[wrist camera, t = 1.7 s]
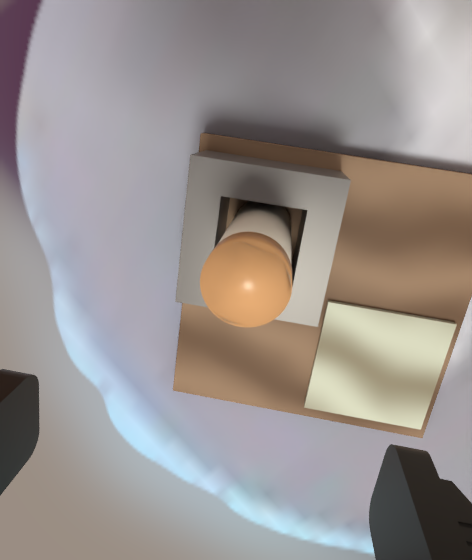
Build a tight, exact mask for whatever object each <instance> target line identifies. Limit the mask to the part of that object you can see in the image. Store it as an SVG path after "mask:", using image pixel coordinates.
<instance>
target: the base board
mask: <svg viewBox="0 0 472 560" xmlns="http://www.w3.org/2000/svg"><path fill="white" fill-rule="evenodd" d="M205 150H209V151H215V152H222V153H228V154H235V155H241V156H247V157H254V158H260V159H267V160H273V161H280V162H286V163H292V164H299V165H305V166H312V167H318V168H325V169H331V170H337V171H342V172H343V173H344V174H345V175H346V176H347V177H348V178H349V179H350V180H351V182H350V187H349V191H348V196H347V200H346V204H345V209H344V213H343V218H342V222H341V227H340V231H339V236H338V240H337V244H336V249H335V253H334V258H333V262H332V267H331V271H330V275H329V280H328V284H327V289H326V293H325V298H324V302H323V306H322V311H321V315H320V320H319V324H318V327H315V326H309V325H303V324H298V323H292V322H287V321H281V320H275V319H274V320H272V321H271V322H269V323H267V324H264V325H261V326H257V327H238V326H234V325H231V324H228V323H226V322H224V321H222V320H221V319H220V318H218V317H217V316H216V315H215V314H213V313H212V311H211V310H210V309H209V308H208V307H203V306H197V305H191V304H186V303H182V312H181V321H180V330H179V339H178V349H177V358H176V367H175V376H174V386H173V390H174V391H179V392H184V393H189V394H194V395H200V396H205V397H210V398H215V399H221V400H226V401H231V402H236V403H241V404H247V405H252V406H257V407H262V408H267V409H273V410H278V411H283V412H288V413H294V414H299V415H304V416H309V417H314V418H320V419H325V420H330V421H335V422H341V423H346V424H351V425H356V426H361V427H367V428H372V429H377V430H382V431H387V432H393V433H398V434H403V435H408V436H414V437H419V438H423V435H424V432H425V429H426V426H427V423H428V420H429V417H430V414H431V412H432V409H433V406H434V403H435V400H436V397H437V394H438V391H439V389H440V386H441V383H442V380H443V377H444V374H445V371H446V368H447V366H448V363H449V360H450V357H451V354H452V351H453V348H454V345H455V342H456V340H457V337H458V334H459V331H460V328H461V325H462V322H463V319H464V317H465V314H466V311H467V308H468V305H469V302H470V299H471V296H472V174H470V173H463V172H457V171H450V170H444V169H437V168H431V167H424V166H418V165H411V164H405V163H398V162H392V161H385V160H378V159H372V158H365V157H359V156H352V155H346V154H339V153H333V152H326V151H320V150H313V149H307V148H300V147H294V146H287V145H281V144H274V143H267V142H261V141H254V140H248V139H241V138H235V137H228V136H222V135H215V134H209V133H201V136H200V145H199V152H202V151H205ZM247 202H248V200H242V199H236V198H230V203H229V210H228V217H227V225H226V230H227V228H228V227H229V225H230V223H231V222H232V220H233V219H234V217H235V215H236V214H237V212H238V211H239V209H240V208H241V207H242V206H243V205H244V204H245V203H247ZM283 207H284V208H285V209H286V210H287V212H288V214H289V216H290V219H291V227H292V230H291V266H292V263H293V257H294V252H295V247H296V242H297V237H298V232H299V226H300V221H301V216H302V211H303V209H297V208H291V207H285V206H283Z"/></svg>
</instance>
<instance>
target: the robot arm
mask: <svg viewBox="0 0 472 560" xmlns="http://www.w3.org/2000/svg"><path fill="white" fill-rule="evenodd" d="M38 436H39V382H38V379H37V377H36V376H35V375H31V374H26V373H21V372H16V371H10V370H5V369H2V370H0V495H1V494H2V493H3V491H4V490H5V489H6V487H7V486H8V485H9V484H10V482H11V481H12V480H13V478H14V477H15V476H16V475H17V474H18V472H19V471H20V470H21V468H22V467H23V466H24V465H25V463H26V462H27V461H28V459H29V458H30V457H31V455H32V453H33V451H34V449H35V446H36V443H37V440H38ZM369 524H370V532H371V537H372V542H373V547H374V552H375V558H376V560H472V504H471V502H470V501H469V500H468V499H467V498H466V497H465V495H464V494H463V493H462V492H461V491H460V490H459V489H458V488H457V487H456V485H455V484H454V483H453V482H452V481H448V480H443V479H440V478H439V476H438V473H437V471H436V469H435V466H434V464H433V461H432V459H431V457H430V455H429V453H428V452H427V451H423V450H418V449H413V448H408V447H403V446H397V445H392V444H391V445H390V446H389V447H388V448H387V450H386V453H385V456H384V459H383V463H382V466H381V469H380V472H379V475H378V479H377V482H376V485H375V488H374V491H373V494H372V498H371V503H370V511H369Z"/></svg>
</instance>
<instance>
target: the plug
mask: <svg viewBox="0 0 472 560" xmlns="http://www.w3.org/2000/svg"><path fill="white" fill-rule="evenodd" d="M291 230H292V227H291V219H290V216H289V214H288V212H287V210H286V209H285V208H284V207H283V206H279V205H273V204H267V203H260V202H254V201H248V202H247V203H245V204H244V205H243V206H242V207H241V208H240V209H239V211H238V212H237V214H236V215H235V217H234V219H233V220H232V222H231V223H230V225H229V227H228V228H227V230H226V231H225V233H224V235H223V236H222V238H221V239H220V241H219V243H218V244H217V245H216V246H215V248H214V249H213V250H212V252H211V254H210V255H209V257H208V258H207V260H206V262H205V263H204V265H203V268H202V271H201V276H200V289H201V294H202V297H203V299H204V301H205V303H206V305H207V306H208V308H209V309H210V310H211V311H212V313H213V314H215V315H216V316H217V317H218V318H220V319H221V320H222V321H224V322H226V323H228V324H231V325H234V326H238V327H257V326H261V325H264V324H267V323H269V322H271V321H272V320H274V319H275V318H277V317H278V316H279V315H280V314H281V313H282V312H283V311H284V309H285V308H286V306H287V304H288V302H289V300H290V297H291V293H292V266H291Z"/></svg>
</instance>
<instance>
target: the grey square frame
mask: <svg viewBox="0 0 472 560" xmlns="http://www.w3.org/2000/svg"><path fill="white" fill-rule="evenodd" d="M350 182H351V180H350V179H349V178H348V177H347V176H346V175H345V174H344V173H343V172H342V171H337V170H331V169H325V168H318V167H312V166H305V165H299V164H292V163H286V162H280V161H273V160H267V159H260V158H254V157H247V156H241V155H235V154H228V153H222V152H215V151H209V150H205V151H202V152H199V153H195V154H192V155H190V164H189V174H188V184H187V194H186V203H185V213H184V223H183V233H182V242H181V252H180V262H179V272H178V282H177V291H176V301H175V302H180V303H186V304H191V305H197V306H203V307H208V306H207V305H206V303H205V301H204V299H203V297H202V294H201V289H200V276H201V271H202V268H203V265H204V263H205V262H206V260H207V258H208V257H209V255H210V254H211V252H212V250H213V249H214V248H215V246H216V245H217V244H218V243H219V241H220V239H221V238H222V236H223V235H224V233H225V231H226V225H227V217H228V210H229V203H230V198H236V199H242V200H248V201H254V202H260V203H267V204H273V205H279V206H285V207H291V208H297V209H303V211H302V216H301V221H300V226H299V232H298V237H297V242H296V247H295V252H294V257H293V263H292V293H291V297H290V300H289V302H288V304H287V306H286V308H285V309H284V311H283V312H282V313H281V314H280V315H279V316H278V317H277V318H275V320H281V321H287V322H292V323H298V324H303V325H309V326H315V327H318V324H319V320H320V315H321V311H322V306H323V302H324V298H325V293H326V289H327V284H328V280H329V275H330V271H331V267H332V262H333V258H334V253H335V249H336V244H337V240H338V236H339V231H340V227H341V222H342V218H343V213H344V209H345V204H346V200H347V196H348V191H349V187H350Z"/></svg>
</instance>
